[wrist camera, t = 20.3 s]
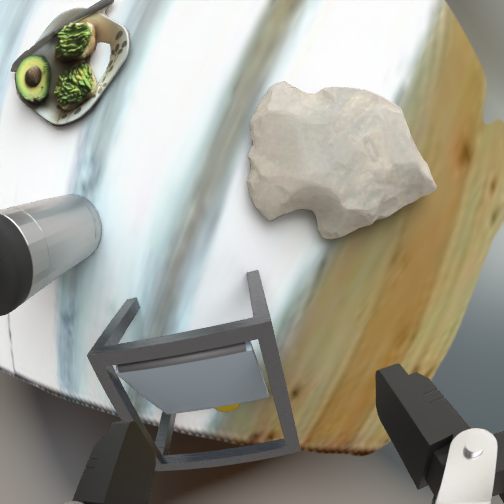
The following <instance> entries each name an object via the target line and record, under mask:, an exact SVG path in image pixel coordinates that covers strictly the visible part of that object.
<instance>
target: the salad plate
mask: <svg viewBox="0 0 504 504" xmlns="http://www.w3.org/2000/svg"><path fill="white" fill-rule="evenodd" d="M113 2H114V0H101V1H99V2H97V3H96V4H94V5H93V6H91V7H89V8H83V7H80V8H74V9H71V10H68V11H66V12H63V13H61V14H60V15H58V16H57V17H56V18H55V19H54V20H53V21H52V22H51V23H50V25H49V26H48V27H47V28H46V30H45V31H44V32H43V34H42V35H41V36H40V38H39V39H38V40H37V42H36V43H35V45H34V46H33V47H31V48H30V49H29V50H27V51H25V52H24V53H23V54H22V55H21V56H20V57H19V58H18V59H17V60H16V61H15V62H14V63H13V65H12V68H11V72H13V71H15V72H16V74H15V83H16V90H17V93H18V95H19V97H20V98H21V100H22V101H23V102H24V103H25V104H26V105H27V106H29V107H30V108H31V109H33V110H34V111H35V112H37V113H38V114H39V115H40V116H42V117H43V118H44V119H45V120H46V121H47V122H50V123H51V124H53V125H54V126H65V125H68V124H71V123H74V122H76V121H77V120H79V119H81V118H82V117H84V116H85V115H86V114H87V113H88V112H89V111H90V110H91V109H92V108H93V107H94V106H95V105H96V104H97V103H98V101H99V100H100V98H101V96H102V93H103V92H104V90H105V89H106V88H107V86H108V85H109V84H110V82H111V81H112V80H113V78H114V77H115V75H116V74H117V72H118V70H119V69H120V67H121V66H122V64H123V62H124V61H125V60H126V58H127V55H128V52H129V48H130V33H129V31H128V30H127V29H126V28H125V27H124V26H122V25H121V24H119V23H118V22H116V21H115V20H113V19H111V18H109V17H108V16H107V15H106V14H105V11H106V9H107V8H108V7H109V6H111V5H112V4H113ZM98 42H105V43H108V44H110V46H111V55H110V61H109V64H108V67H107V70H106V71H105V73H104V75H103V76H102V78H101V80H100V81H99V83H98V84H97V82H96V78H95V76H94V73H93V71H92V69H91V67H90V65H89V60H90V56H91V53H92V52H93V51H94V50H95V49H96V45H97V43H98Z"/></svg>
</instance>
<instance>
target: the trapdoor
mask: <svg viewBox="0 0 504 504" xmlns="http://www.w3.org/2000/svg"><path fill="white" fill-rule="evenodd" d="M116 374H117V375H118V376H119V377H120V378H122V379H123V380H124V381H125V382H126V383H128V384H129V385H130V386H131V387H132V388H134V389H135V390H136V391H137V392H139V393H140V394H141V395H142V396H144V397H145V398H146V399H148V400H149V401H150V402H152V403H153V404H154V405H155V406H157V407H158V408H159V409H161V410H162V411H164V412H165V413H166V414H174V413H182V412H189V411H196V410H203V409H210V408H216V407H222V406H228V405H233V404H239V403H244V402H249V401H254V400H259V399H264V398H268V397H269V392H268V389H267V386H266V383H265V380H264V378H263V375H262V372H261V369H260V367H259V364H258V361H257V358H256V356H255V353H254V350H253V347H252V344H251V342H250V341H247V342H242V343H237V344H233V345H228V346H223V347H218V348H213V349H208V350H203V351H198V352H192V353H187V354H181V355H176V356H170V357H164V358H158V359H152V360H146V361H139V362H132V363H125V364H118V365H116Z"/></svg>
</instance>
